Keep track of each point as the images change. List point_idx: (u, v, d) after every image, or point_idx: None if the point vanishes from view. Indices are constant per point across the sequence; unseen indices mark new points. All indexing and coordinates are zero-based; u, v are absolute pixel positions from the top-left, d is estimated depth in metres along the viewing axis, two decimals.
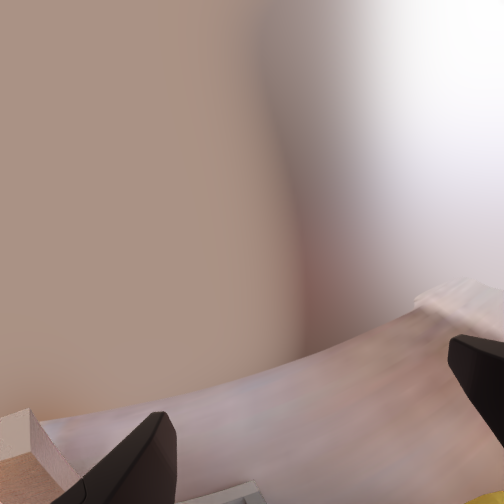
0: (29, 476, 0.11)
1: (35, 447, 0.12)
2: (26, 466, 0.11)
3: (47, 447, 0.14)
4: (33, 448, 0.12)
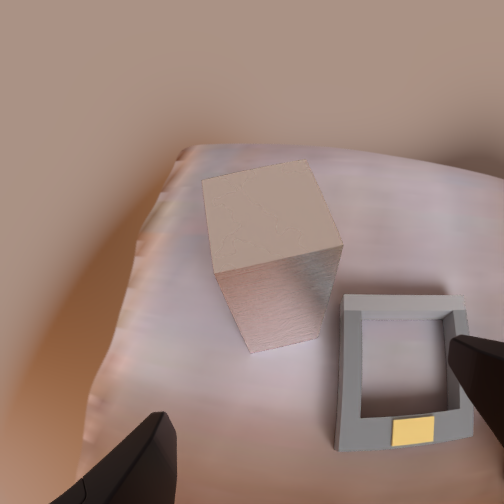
0: (307, 273, 0.13)
1: None
2: (317, 262, 0.13)
3: None
4: None
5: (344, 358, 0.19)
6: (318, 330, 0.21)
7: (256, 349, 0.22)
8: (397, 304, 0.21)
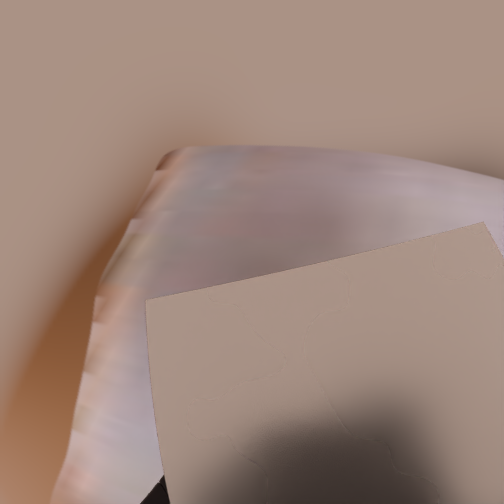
0: None
1: None
2: None
3: None
4: None
5: None
6: None
7: None
8: None
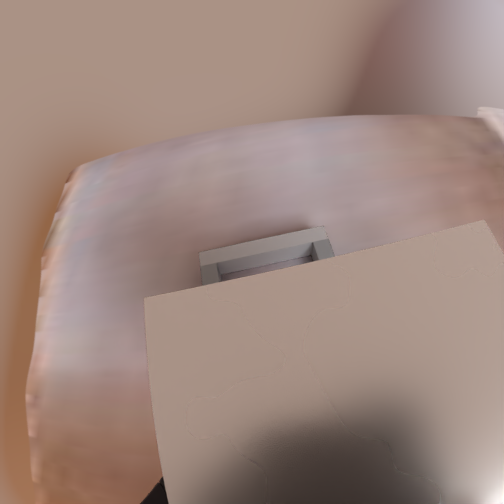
0: None
1: None
2: None
3: None
4: None
5: None
6: None
7: None
8: (251, 249, 0.24)
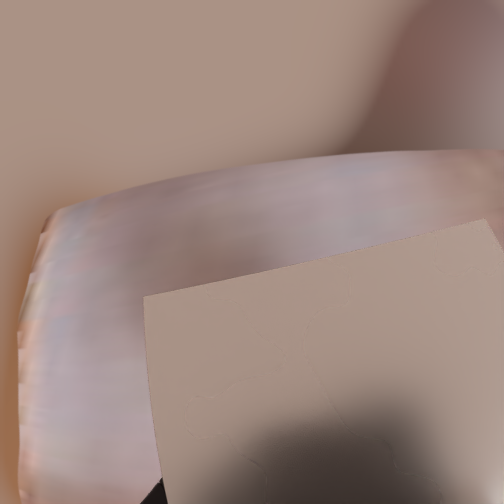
0: None
1: None
2: None
3: None
4: None
5: None
6: None
7: None
8: None
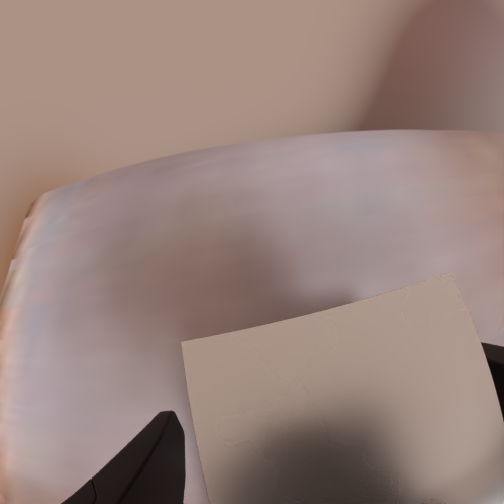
0: None
1: None
2: None
3: None
4: None
5: None
6: None
7: None
8: None
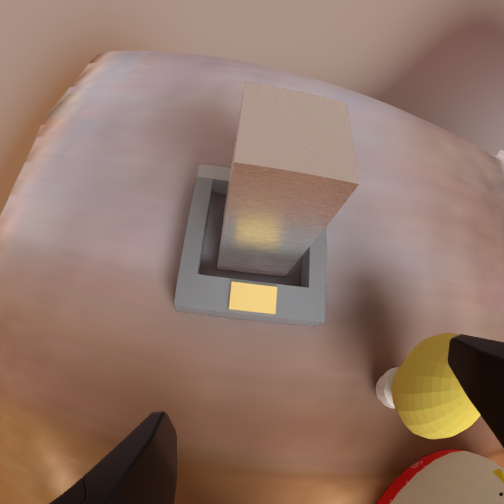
0: (314, 199, 0.13)
1: None
2: (328, 191, 0.13)
3: None
4: None
5: (189, 216, 0.22)
6: (290, 268, 0.22)
7: (224, 266, 0.22)
8: None
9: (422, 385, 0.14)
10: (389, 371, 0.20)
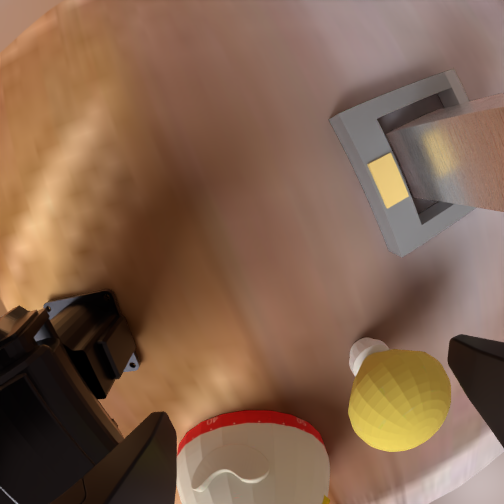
0: None
1: None
2: None
3: None
4: None
5: (412, 83, 0.17)
6: (427, 198, 0.19)
7: (393, 139, 0.19)
8: None
9: (404, 380, 0.14)
10: (382, 342, 0.21)
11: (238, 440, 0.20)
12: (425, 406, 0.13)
